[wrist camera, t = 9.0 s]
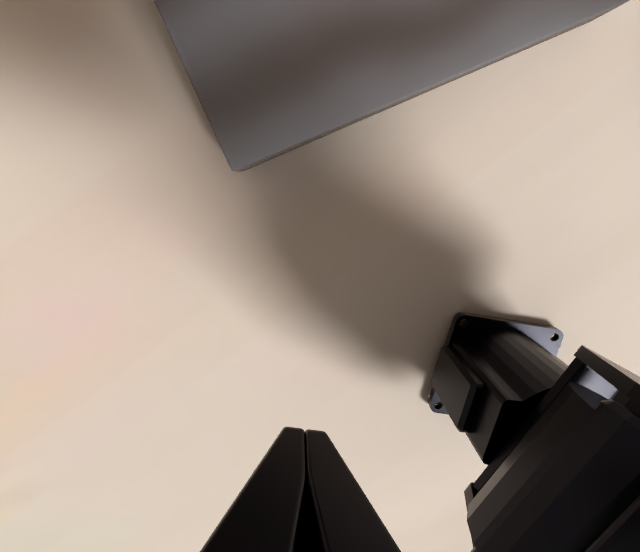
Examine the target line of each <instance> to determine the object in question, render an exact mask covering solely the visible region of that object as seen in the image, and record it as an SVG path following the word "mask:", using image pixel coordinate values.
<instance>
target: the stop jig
mask: <svg viewBox="0 0 640 552" xmlns="http://www.w3.org/2000/svg"><path fill="white" fill-rule="evenodd" d="M628 1H629V0H154V2H155V4H156V6H157V8H158V10H159V12H160V15H161V17H162V19H163V21H164V23H165V26H166V28H167V30H168V32H169V34H170V37H171V39H172V41H173V43H174V45H175V48H176V50H177V52H178V54H179V56H180V58H181V61H182V63H183V65H184V67H185V69H186V72H187V74H188V76H189V78H190V80H191V83H192V85H193V87H194V89H195V91H196V93H197V96H198V98H199V100H200V102H201V104H202V107H203V109H204V111H205V113H206V115H207V118H208V120H209V122H210V124H211V126H212V129H213V131H214V133H215V135H216V137H217V139H218V142H219V144H220V146H221V148H222V150H223V153H224V155H225V157H226V159H227V161H228V164H229V166H230V168H231V170H232V171H244V170H246V169H249V168H251V167H253V166H256V165H258V164H260V163H263V162H265V161H267V160H270V159H272V158H274V157H277V156H279V155H281V154H284V153H286V152H288V151H291V150H293V149H295V148H297V147H300V146H302V145H304V144H307V143H309V142H311V141H314V140H316V139H318V138H321V137H323V136H325V135H328V134H330V133H332V132H335V131H337V130H339V129H342V128H344V127H346V126H349V125H351V124H353V123H356V122H358V121H360V120H363V119H365V118H367V117H370V116H372V115H374V114H377V113H379V112H381V111H384V110H386V109H388V108H390V107H393V106H395V105H397V104H400V103H402V102H404V101H407V100H409V99H411V98H414V97H416V96H418V95H421V94H423V93H425V92H428V91H430V90H432V89H435V88H437V87H439V86H442V85H444V84H446V83H449V82H451V81H453V80H456V79H458V78H460V77H463V76H465V75H467V74H470V73H472V72H474V71H477V70H479V69H481V68H483V67H486V66H488V65H490V64H493V63H495V62H497V61H500V60H502V59H504V58H507V57H509V56H511V55H514V54H516V53H518V52H521V51H523V50H525V49H528V48H530V47H532V46H535V45H537V44H539V43H542V42H544V41H546V40H549V39H551V38H553V37H556V36H558V35H560V34H563V33H565V32H567V31H569V30H572V29H574V28H576V27H579V26H581V25H583V24H586V23H588V22H590V21H592V20H594V19H596V18H598V17H600V16H602V15H603V14H605V13H607V12H609V11H611V10H613V9H615V8H616V7H618V6H620V5H622V4H624V3H626V2H628Z"/></svg>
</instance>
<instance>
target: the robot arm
mask: <svg viewBox="0 0 640 552" xmlns="http://www.w3.org/2000/svg"><path fill="white" fill-rule="evenodd" d="M463 319H465V323H464V324H461V325H460V321H461V320H463ZM553 334H554V336H553V337H552V338H550V337H551V335H553ZM562 339H563V333H562V332H561V331H560V330H559V329H557V328H555V327H552V326H545V325H539V324H533V323H526V322H520V321H514V320H507V319H501V318H495V317H488V316H482V315H476V314H469V313H458V314H456V315H455V316H454V318H453V320H452V324H451V327H450V330H449V334H448V337H447V340H446V344H445V345H444V346H443V347H442V348H441V351H440V354H439V357H438V361H437V364H436V367H435V371H434V374H433V378H432V381H431V385H432V386H433V387H432V391H431V394H430V397H429V401H428V404H429V406H430V408H431V410H432V411H433V412H436V413H442V414H449V416H450V418H451V419H452V421H453V423H454V424H455V426H456V428H457V429H458V430H459V431H460V432H465V433H466V435H467V436H468V438H469V440H470V441H471V443H472V445H473V446H474V448H475V450H476V451H477V453H478V455H479V456H480V458H481V460H482V461H483V463H484V464H487V465H488V466H487V468H486V469H485V470H484V471H483V473H482V474H481V475H480V476H479V478H478V479H477V480H476V481H475V483H470V485H469V486H468V487H467V488H466V490H465V491H464V493H465V499H466V506H467V512H468V513H467V522H468V526H469V529H470V533H471V537H472V543H473V549H472V550H471V552H640V377H639V376H637V375H635V374H634V373H632V372H630V371H628V370H626V369H624V368H623V367H621V366H619V365H617V364H615V363H614V362H612V361H610V360H608V359H606V358H605V357H603V356H601V355H599V354H597V353H595V352H594V351H592V350H590V349H588V348H586V347H585V346H583V345H582V346H581V347H580V348H579V349H578V351H577V352H576V353H575V354H574V356H576V358H575V359H574V360H573V361H572V363H571V364H570V365H569V366H568V365H566V364H565V363H564V362H562V361H561V360H560V359H558V358H557V357H556V355H557V352H558V350H559V347H560V345H561V342H562ZM437 402H440V403H439V404H438V405H435V403H437ZM200 552H401V551H400V549H399V548H398V546H397V545H396V543H395V541H394V540H393V538H392V537H391V535H390V533H389V532H388V530H387V529H386V527H385V526H384V524H383V522H382V521H381V519H380V518H379V516H378V514H377V513H376V511H375V510H374V508H373V506H372V505H371V503H370V502H369V500H368V499H367V497H366V495H365V494H364V492H363V491H362V489H361V487H360V486H359V484H358V483H357V481H356V480H355V478H354V476H353V475H352V473H351V472H350V470H349V468H348V467H347V465H346V464H345V462H344V460H343V459H342V457H341V456H340V454H339V453H338V451H337V449H336V448H335V446H334V445H333V443H332V441H331V440H330V438H329V437H328V435H327V434H326V433H325V432H323V431H317V430H309V429H308V430H306V431H305V432H304V430H303V429H301V428H294V427H284V428H283V430H282V431H281V432H280V434H279V435H278V437H277V438H276V440H275V441H274V443H273V444H272V446H271V447H270V449H269V450H268V452H267V453H266V455H265V456H264V458H263V459H262V461H261V462H260V464H259V465H258V466H257V468H256V469H255V471H254V472H253V474H252V475H251V477H250V478H249V480H248V481H247V483H246V484H245V486H244V487H243V489H242V490H241V492H240V493H239V495H238V496H237V498H236V499H235V501H234V502H233V504H232V505H231V506H230V508H229V509H228V511H227V512H226V514H225V515H224V517H223V518H222V520H221V521H220V523H219V524H218V526H217V527H216V529H215V530H214V532H213V533H212V535H211V536H210V538H209V539H208V541H207V542H206V544H205V545H204V546H203V548H202V549H201V551H200Z"/></svg>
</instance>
